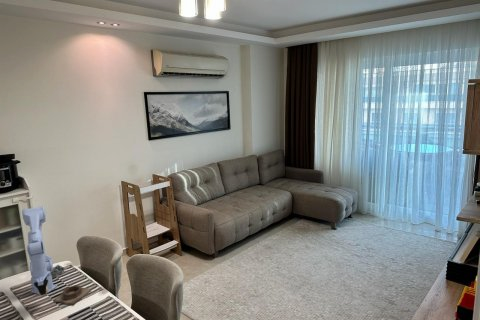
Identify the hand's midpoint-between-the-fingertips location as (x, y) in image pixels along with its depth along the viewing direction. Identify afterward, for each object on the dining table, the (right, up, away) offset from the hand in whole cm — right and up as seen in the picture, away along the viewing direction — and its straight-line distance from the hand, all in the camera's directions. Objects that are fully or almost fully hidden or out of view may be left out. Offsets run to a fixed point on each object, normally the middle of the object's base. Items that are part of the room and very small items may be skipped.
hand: (43, 291), depth 154 cm
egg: (0, +1, 0) cm, 1 cm away
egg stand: (+10, -5, +7) cm, 14 cm away
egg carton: (-11, -3, +28) cm, 30 cm away
